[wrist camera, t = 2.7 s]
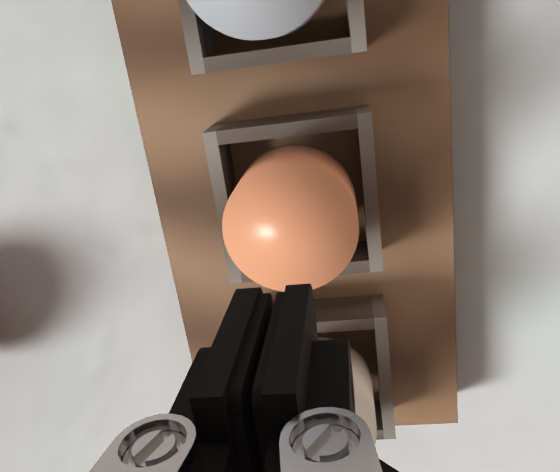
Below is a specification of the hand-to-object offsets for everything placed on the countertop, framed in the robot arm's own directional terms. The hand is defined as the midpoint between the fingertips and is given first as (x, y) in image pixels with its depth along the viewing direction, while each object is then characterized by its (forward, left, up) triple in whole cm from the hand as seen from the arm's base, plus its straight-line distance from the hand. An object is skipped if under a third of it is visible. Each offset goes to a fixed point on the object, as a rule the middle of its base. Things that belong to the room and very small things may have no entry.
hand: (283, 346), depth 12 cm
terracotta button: (-1, 0, -9) cm, 9 cm away
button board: (-1, 0, -13) cm, 13 cm away
